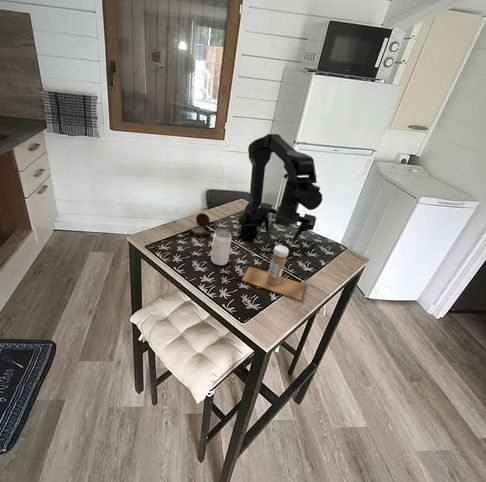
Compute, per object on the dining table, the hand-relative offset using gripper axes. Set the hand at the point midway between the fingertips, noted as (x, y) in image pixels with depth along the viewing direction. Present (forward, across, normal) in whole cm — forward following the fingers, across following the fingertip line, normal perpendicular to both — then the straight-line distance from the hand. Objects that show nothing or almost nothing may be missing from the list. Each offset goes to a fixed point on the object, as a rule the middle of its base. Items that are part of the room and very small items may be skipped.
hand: (280, 237), depth 97 cm
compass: (+13, -34, +8) cm, 37 cm away
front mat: (+12, +3, -10) cm, 16 cm away
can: (+13, -18, -7) cm, 24 cm away
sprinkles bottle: (+12, +2, -9) cm, 16 cm away
